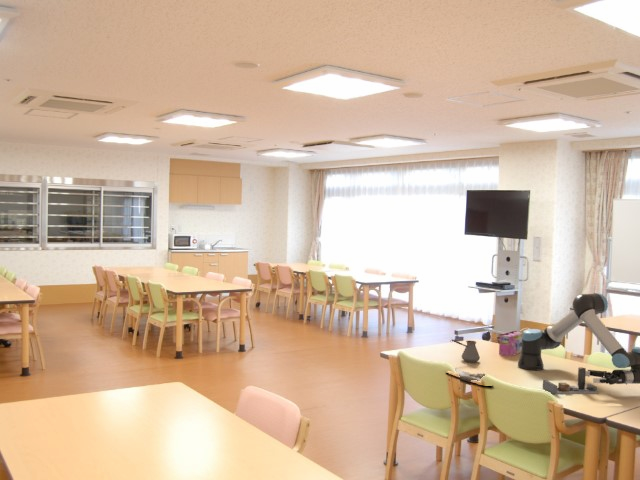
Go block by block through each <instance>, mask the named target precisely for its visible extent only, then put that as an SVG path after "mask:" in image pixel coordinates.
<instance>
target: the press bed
mask: <svg viewBox="0 0 640 480" xmlns="http://www.w3.org/2000/svg"><path fill="white" fill-rule="evenodd" d="M585 388H586V389H588V390H589V391H571V390H569V391H559V390H558V387H557V394H552V395H599V392H598V390H597V386H596V385H593V384H592V383H586V386H585Z"/></svg>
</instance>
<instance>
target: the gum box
mask: <svg viewBox="0 0 640 480" xmlns="http://www.w3.org/2000/svg"><path fill="white" fill-rule="evenodd" d="M522 333H523V332H520V331H519V332H518V331H517V330H513V331H510V332H506V333H503V334H500V335H499V347H498V349H499V350H498V355H500V356H507V357H512V356H514V355H515V356H516V355H518V354H521V351H522Z"/></svg>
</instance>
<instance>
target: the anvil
mask: <svg viewBox="0 0 640 480" xmlns="http://www.w3.org/2000/svg"><path fill="white" fill-rule="evenodd" d="M557 388H558V385H556V384H554V383H553V382H551V381H549V380H547V379H542V389H543V390H545V391H546V390H547V391H546V392H548V391H549V392H548V393H550V392H551V393H550V394H552V395H553V394H557Z"/></svg>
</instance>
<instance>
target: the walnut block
mask: <svg viewBox="0 0 640 480" xmlns="http://www.w3.org/2000/svg"><path fill="white" fill-rule="evenodd" d="M570 386H571V385H570V384H569V383H567V382H558V385H557V388H558V390H559V391H569V387H570Z"/></svg>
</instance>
